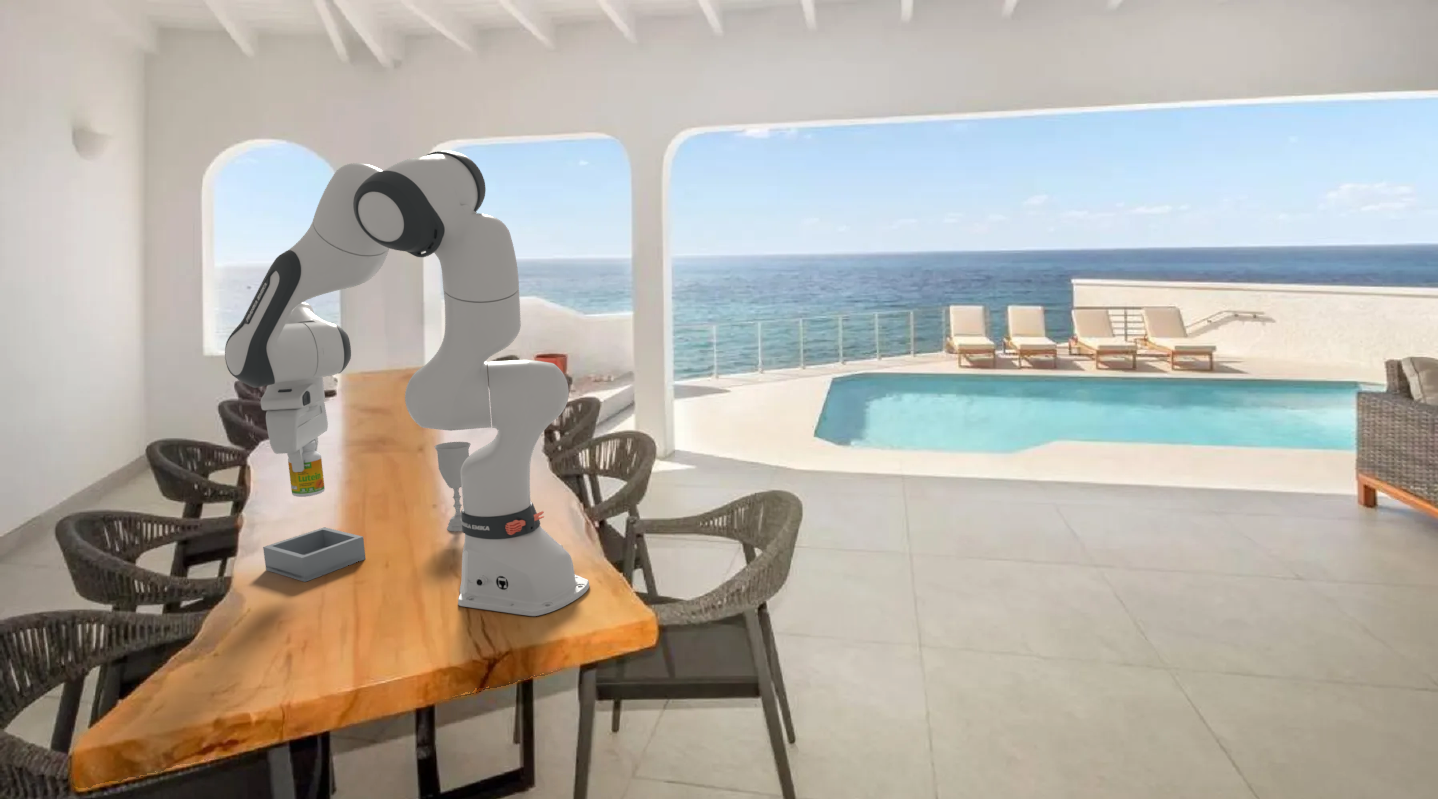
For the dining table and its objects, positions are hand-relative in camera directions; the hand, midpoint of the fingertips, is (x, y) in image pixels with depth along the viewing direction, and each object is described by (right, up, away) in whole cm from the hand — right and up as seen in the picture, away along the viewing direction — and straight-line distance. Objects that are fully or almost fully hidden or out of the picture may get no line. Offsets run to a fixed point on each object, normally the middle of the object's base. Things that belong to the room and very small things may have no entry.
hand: (305, 466), depth 138 cm
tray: (0, -19, +3) cm, 19 cm away
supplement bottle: (0, -5, +1) cm, 5 cm away
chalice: (+20, -15, +23) cm, 34 cm away
